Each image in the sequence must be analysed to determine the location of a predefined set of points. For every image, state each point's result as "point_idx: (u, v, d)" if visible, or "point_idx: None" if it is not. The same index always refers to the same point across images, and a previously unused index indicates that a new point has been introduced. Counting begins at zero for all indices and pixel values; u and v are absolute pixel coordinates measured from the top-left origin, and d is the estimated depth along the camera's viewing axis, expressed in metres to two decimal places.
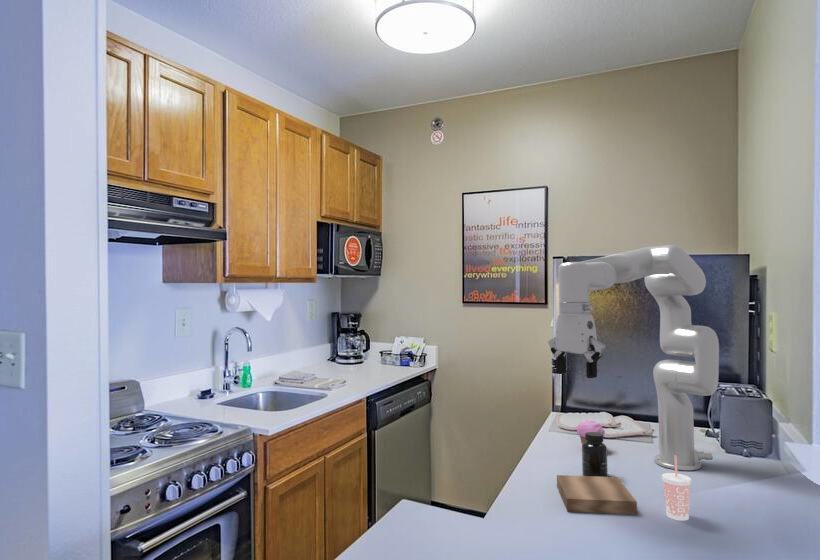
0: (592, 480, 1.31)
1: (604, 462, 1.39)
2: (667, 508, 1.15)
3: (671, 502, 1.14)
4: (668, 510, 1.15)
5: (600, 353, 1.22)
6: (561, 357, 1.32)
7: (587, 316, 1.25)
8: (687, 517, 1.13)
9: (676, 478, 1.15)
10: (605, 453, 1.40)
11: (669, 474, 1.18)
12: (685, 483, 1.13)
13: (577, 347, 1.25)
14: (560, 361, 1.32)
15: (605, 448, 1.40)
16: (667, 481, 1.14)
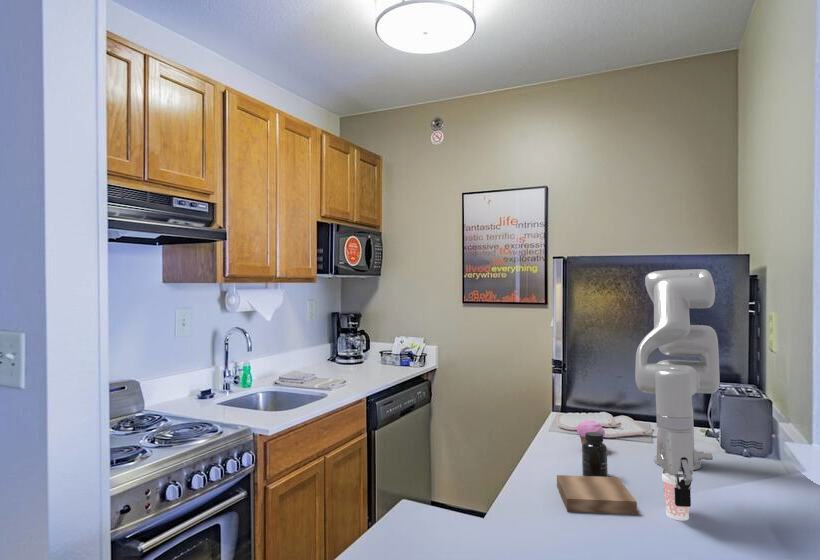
0: (592, 480, 1.31)
1: (604, 462, 1.39)
2: (667, 508, 1.15)
3: (671, 502, 1.14)
4: (668, 510, 1.15)
5: None
6: None
7: None
8: (687, 517, 1.13)
9: None
10: (605, 453, 1.40)
11: (669, 474, 1.18)
12: None
13: None
14: None
15: (605, 448, 1.40)
16: (667, 481, 1.14)
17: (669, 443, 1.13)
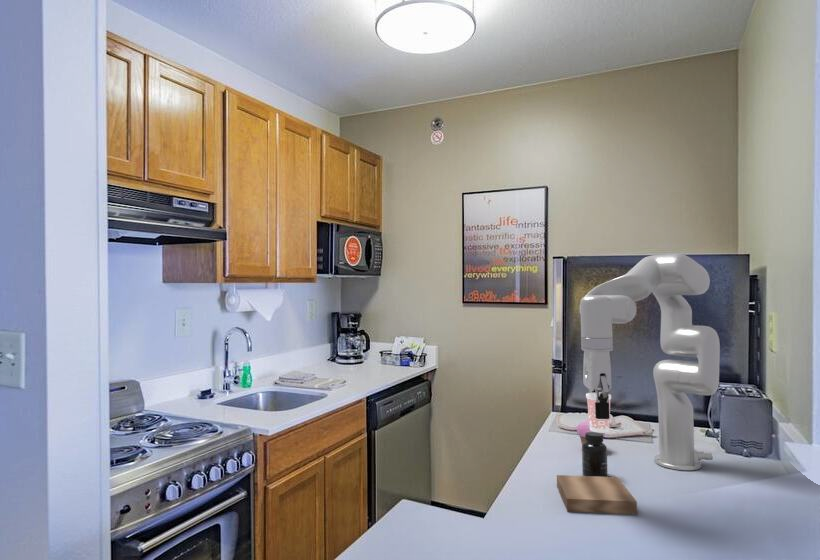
0: (592, 480, 1.31)
1: (604, 462, 1.39)
2: (590, 423, 1.25)
3: (593, 416, 1.24)
4: (590, 424, 1.25)
5: None
6: None
7: None
8: (607, 430, 1.23)
9: None
10: (605, 453, 1.40)
11: (593, 393, 1.28)
12: None
13: None
14: None
15: (605, 448, 1.40)
16: (589, 397, 1.24)
17: (590, 361, 1.23)
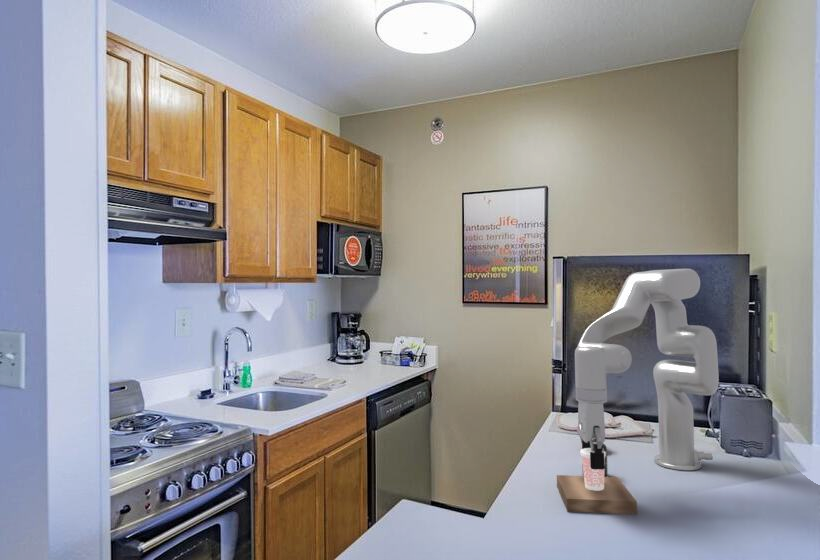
0: None
1: None
2: (585, 480, 1.26)
3: (587, 474, 1.24)
4: (585, 481, 1.25)
5: None
6: None
7: None
8: (602, 487, 1.24)
9: None
10: None
11: (588, 449, 1.28)
12: None
13: None
14: None
15: (605, 448, 1.40)
16: (583, 455, 1.25)
17: (584, 413, 1.23)
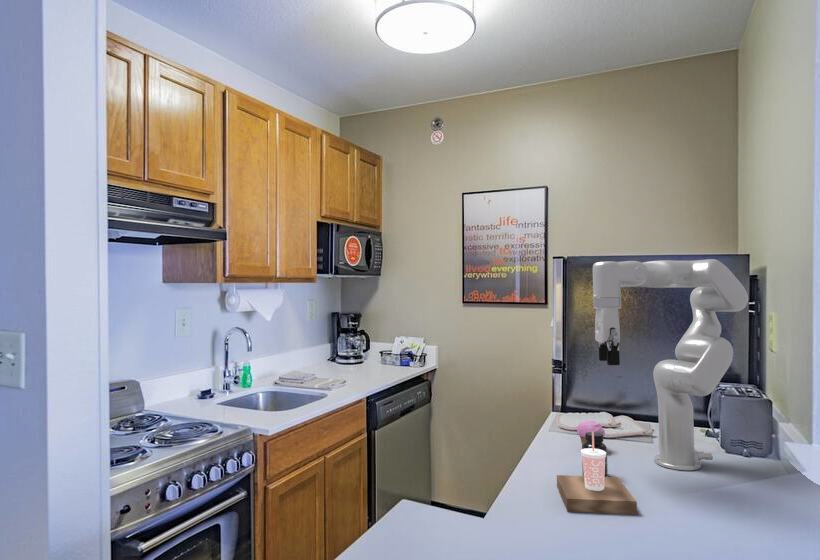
0: None
1: None
2: (585, 480, 1.26)
3: (588, 474, 1.24)
4: (585, 481, 1.25)
5: None
6: None
7: None
8: (602, 487, 1.24)
9: (592, 452, 1.25)
10: None
11: (588, 449, 1.28)
12: (599, 456, 1.23)
13: None
14: None
15: (605, 448, 1.40)
16: (584, 455, 1.25)
17: (601, 317, 1.41)
